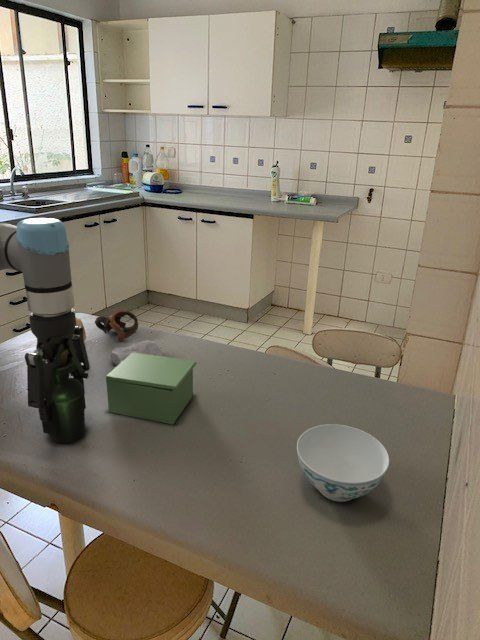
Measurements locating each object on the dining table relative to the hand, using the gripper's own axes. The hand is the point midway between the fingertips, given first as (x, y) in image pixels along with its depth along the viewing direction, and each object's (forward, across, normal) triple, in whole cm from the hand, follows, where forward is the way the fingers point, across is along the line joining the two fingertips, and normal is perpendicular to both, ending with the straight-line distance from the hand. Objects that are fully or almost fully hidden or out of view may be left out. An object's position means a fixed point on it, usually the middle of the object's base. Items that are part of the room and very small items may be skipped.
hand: (65, 419), depth 89 cm
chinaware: (+3, -1, +52) cm, 52 cm away
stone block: (+3, -31, 0) cm, 31 cm away
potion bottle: (+3, 0, 0) cm, 3 cm away
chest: (+3, -15, +11) cm, 19 cm away
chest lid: (-5, -15, +11) cm, 19 cm away
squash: (+3, -30, -21) cm, 37 cm away
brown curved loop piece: (+3, -45, -14) cm, 47 cm away
